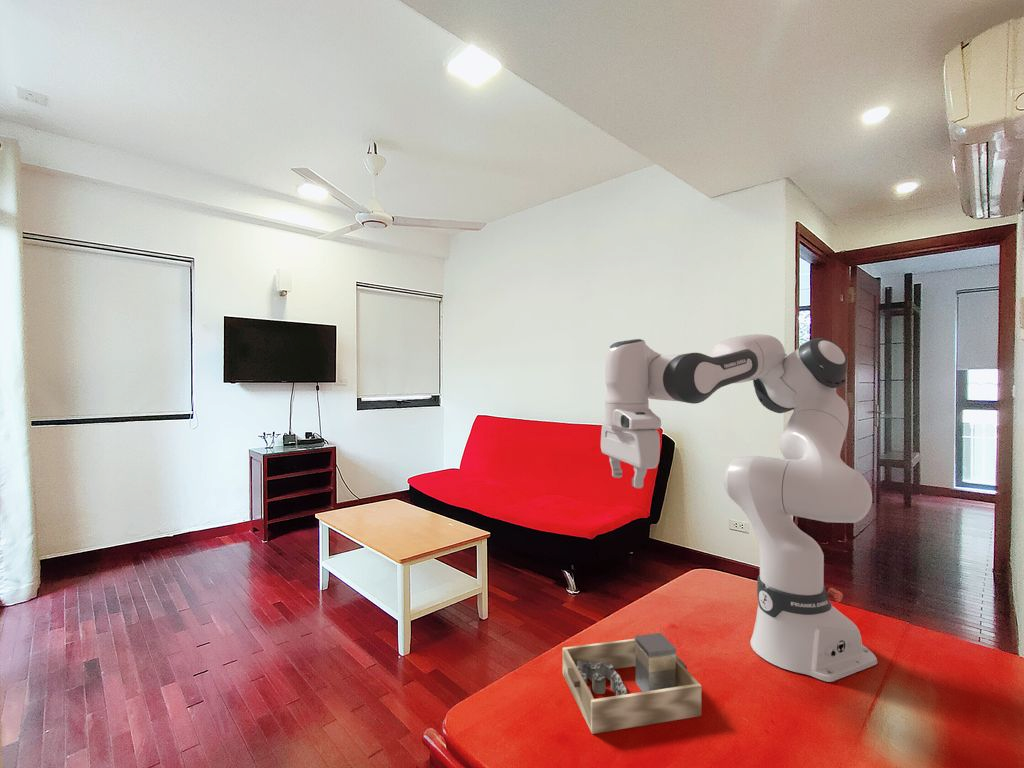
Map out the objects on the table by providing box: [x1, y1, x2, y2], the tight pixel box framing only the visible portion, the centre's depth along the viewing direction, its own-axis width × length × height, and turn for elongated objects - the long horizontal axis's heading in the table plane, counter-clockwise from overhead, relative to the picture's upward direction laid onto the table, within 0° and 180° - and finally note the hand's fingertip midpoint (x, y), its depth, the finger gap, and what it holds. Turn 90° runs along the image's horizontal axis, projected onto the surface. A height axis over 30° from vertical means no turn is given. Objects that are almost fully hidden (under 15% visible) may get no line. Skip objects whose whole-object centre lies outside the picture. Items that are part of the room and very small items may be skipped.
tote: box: [562, 638, 702, 735], centre depth 82 cm, size 21×15×5 cm
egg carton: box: [577, 661, 629, 696], centre depth 81 cm, size 11×8×4 cm
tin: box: [634, 632, 677, 692], centre depth 83 cm, size 5×5×8 cm
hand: (626, 482), depth 98 cm, fingers open, 8 cm apart
